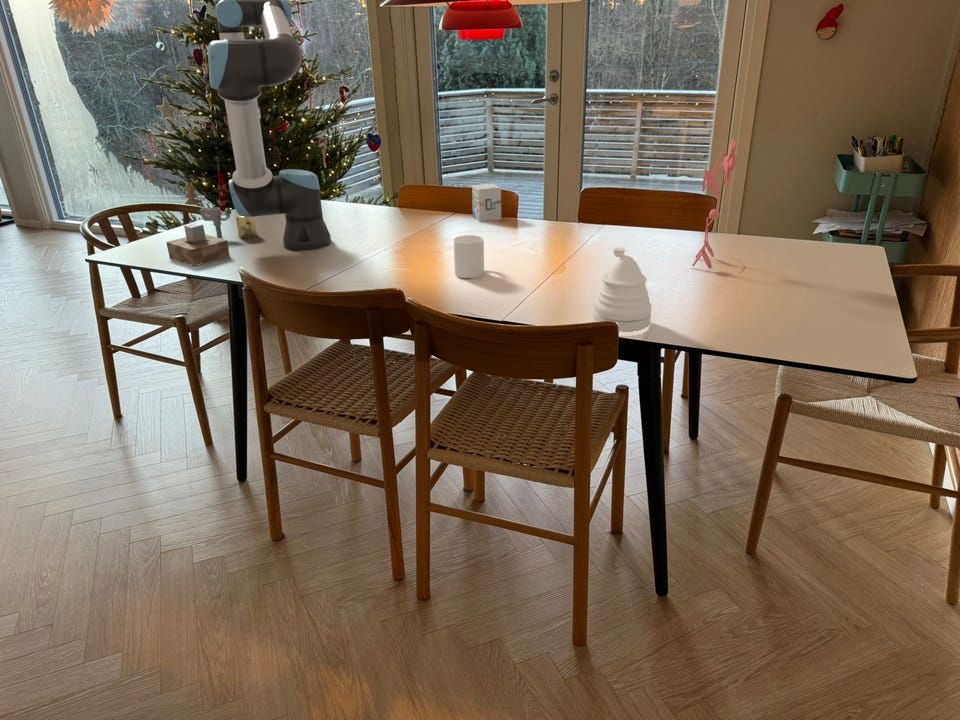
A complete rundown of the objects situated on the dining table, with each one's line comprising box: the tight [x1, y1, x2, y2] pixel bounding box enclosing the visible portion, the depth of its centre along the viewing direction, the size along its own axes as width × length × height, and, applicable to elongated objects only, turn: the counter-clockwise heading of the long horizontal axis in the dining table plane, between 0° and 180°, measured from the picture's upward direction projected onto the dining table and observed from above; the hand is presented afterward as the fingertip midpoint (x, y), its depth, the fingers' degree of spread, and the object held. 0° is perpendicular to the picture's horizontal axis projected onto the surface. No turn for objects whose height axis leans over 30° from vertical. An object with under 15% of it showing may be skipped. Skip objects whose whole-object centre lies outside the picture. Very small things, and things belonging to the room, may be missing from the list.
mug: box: [453, 234, 485, 279], centre depth 195 cm, size 12×8×10 cm
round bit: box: [235, 214, 258, 240], centre depth 234 cm, size 6×6×7 cm
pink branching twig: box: [691, 138, 738, 270], centre depth 192 cm, size 15×26×35 cm, turn 158°
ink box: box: [471, 182, 502, 223], centre depth 250 cm, size 8×8×12 cm
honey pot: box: [593, 246, 652, 332], centre depth 158 cm, size 13×13×18 cm
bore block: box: [165, 233, 231, 266], centre depth 214 cm, size 14×12×5 cm
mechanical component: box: [198, 207, 232, 239], centre depth 232 cm, size 3×10×10 cm, turn 89°
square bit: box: [183, 222, 206, 245], centre depth 213 cm, size 4×4×10 cm
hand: (244, 117), depth 232 cm, fingers open, 13 cm apart
